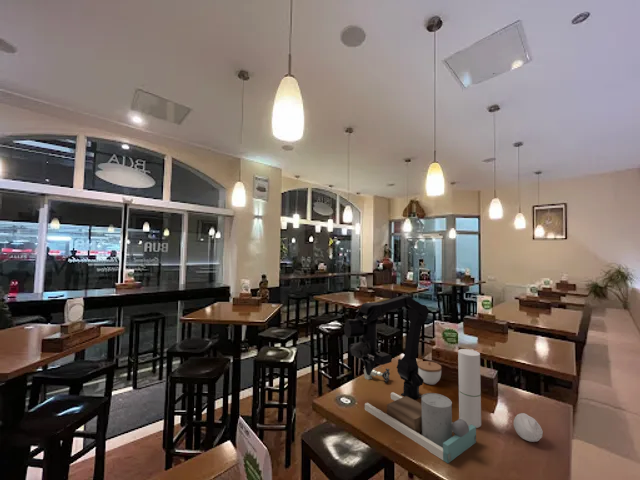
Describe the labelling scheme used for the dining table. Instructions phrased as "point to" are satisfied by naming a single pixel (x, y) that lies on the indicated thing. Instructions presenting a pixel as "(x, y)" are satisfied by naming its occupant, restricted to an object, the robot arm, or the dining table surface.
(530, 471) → the dining table surface
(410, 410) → the carriage
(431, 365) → the lidded jar
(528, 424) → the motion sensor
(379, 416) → the bay
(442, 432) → the grey concrete cylinder
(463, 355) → the cylindrical container
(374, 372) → the valve
